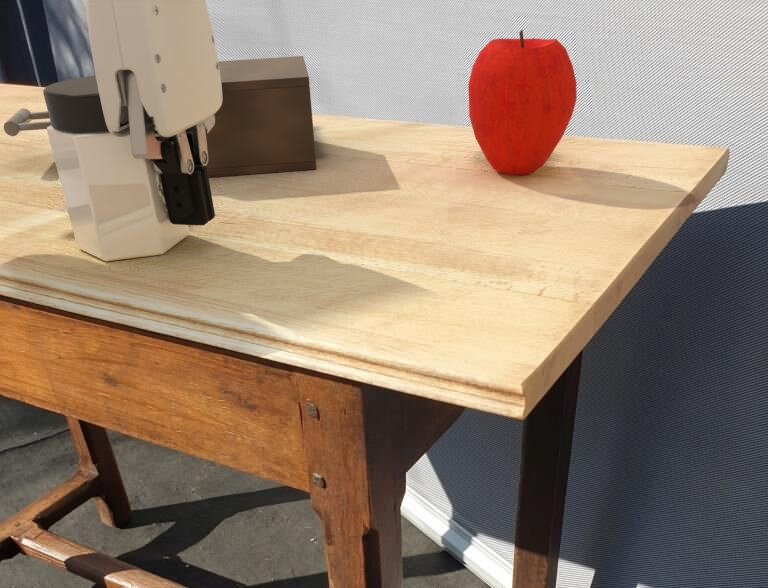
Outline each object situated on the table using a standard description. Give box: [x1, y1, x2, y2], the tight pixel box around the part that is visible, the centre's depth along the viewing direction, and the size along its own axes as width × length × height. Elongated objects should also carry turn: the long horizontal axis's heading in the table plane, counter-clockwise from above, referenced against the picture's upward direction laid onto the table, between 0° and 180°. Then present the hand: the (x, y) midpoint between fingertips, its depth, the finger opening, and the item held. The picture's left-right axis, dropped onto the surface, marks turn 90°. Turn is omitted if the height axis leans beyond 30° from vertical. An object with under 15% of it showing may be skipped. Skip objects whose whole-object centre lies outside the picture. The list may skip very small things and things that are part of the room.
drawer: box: [3, 108, 51, 137], centre depth 85 cm, size 19×11×7 cm, turn 97°
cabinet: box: [202, 55, 317, 178], centre depth 86 cm, size 15×13×9 cm
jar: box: [42, 75, 190, 262], centre depth 65 cm, size 9×8×12 cm
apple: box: [467, 29, 578, 176], centre depth 77 cm, size 10×10×12 cm
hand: (192, 221), depth 65 cm, fingers closed
